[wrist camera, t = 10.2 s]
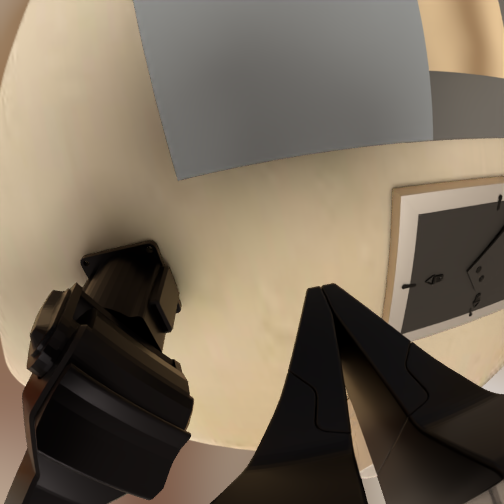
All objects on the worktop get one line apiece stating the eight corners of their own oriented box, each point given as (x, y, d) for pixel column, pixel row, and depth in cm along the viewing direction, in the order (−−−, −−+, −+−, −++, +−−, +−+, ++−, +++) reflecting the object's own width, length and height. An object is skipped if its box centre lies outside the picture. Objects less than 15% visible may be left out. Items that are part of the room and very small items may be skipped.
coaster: (401, 69, 15) (422, 70, 13) (378, -42, 11) (395, -53, 9) (487, 75, 15) (509, 79, 13) (470, -22, 11) (491, -26, 9)
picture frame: (546, 169, 20) (387, 185, 21) (564, 180, 18) (405, 200, 18) (515, 289, 28) (376, 334, 29) (527, 303, 26) (385, 355, 27)
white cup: (355, 381, 32) (379, 457, 24) (408, 378, 33) (435, 444, 25) (330, 415, 36) (345, 482, 28) (379, 411, 37) (398, 471, 29)
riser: (188, 160, 19) (178, 180, 15) (138, -61, 10) (118, -84, 7) (400, 126, 18) (433, 140, 14) (357, -84, 10) (381, -106, 6)
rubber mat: (401, 140, 18) (405, 142, 18) (354, -93, 9) (356, -97, 9) (524, 136, 18) (528, 138, 17) (497, -51, 8) (501, -52, 8)
